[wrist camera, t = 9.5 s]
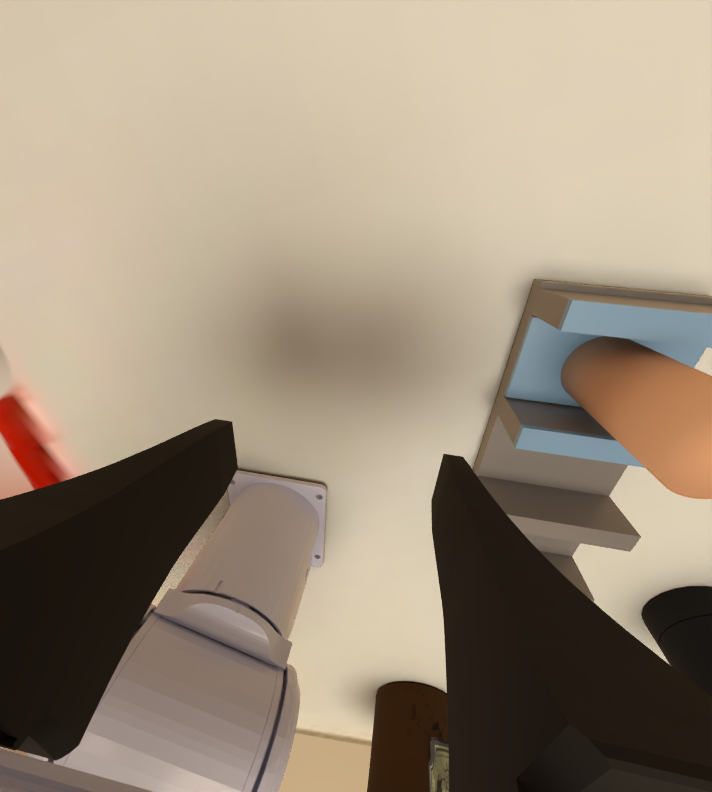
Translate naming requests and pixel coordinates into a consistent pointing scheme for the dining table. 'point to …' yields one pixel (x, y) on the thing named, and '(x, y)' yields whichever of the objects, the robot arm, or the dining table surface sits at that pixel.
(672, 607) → the wine bottle
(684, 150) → the dining table surface
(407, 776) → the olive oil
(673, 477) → the tan rounded cylinder
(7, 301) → the dining table surface
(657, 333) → the grey slotted rack
